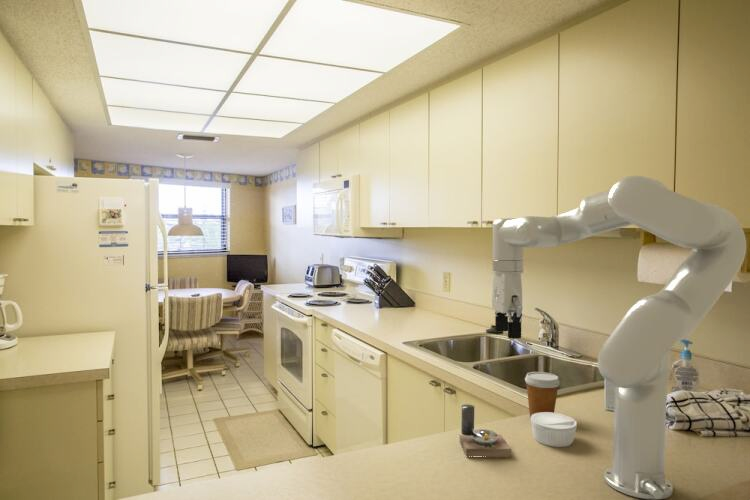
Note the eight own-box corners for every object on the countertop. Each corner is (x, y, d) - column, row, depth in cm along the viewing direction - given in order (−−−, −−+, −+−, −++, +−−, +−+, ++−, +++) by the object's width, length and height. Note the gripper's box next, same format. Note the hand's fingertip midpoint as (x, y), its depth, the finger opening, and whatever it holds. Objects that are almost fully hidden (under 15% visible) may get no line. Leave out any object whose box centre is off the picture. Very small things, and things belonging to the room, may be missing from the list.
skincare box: (626, 413, 146) (627, 363, 146) (603, 410, 149) (604, 360, 148) (625, 404, 154) (626, 356, 153) (604, 401, 156) (605, 354, 156)
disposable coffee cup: (548, 426, 135) (549, 382, 135) (517, 416, 143) (518, 375, 142) (565, 418, 142) (566, 376, 141) (535, 409, 149) (536, 369, 148)
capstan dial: (499, 447, 116) (500, 413, 116) (462, 445, 117) (463, 412, 116) (495, 435, 123) (495, 403, 123) (460, 433, 124) (460, 402, 124)
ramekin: (566, 453, 119) (566, 431, 119) (522, 440, 126) (522, 419, 126) (583, 439, 127) (584, 419, 127) (541, 428, 135) (541, 408, 134)
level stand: (510, 457, 116) (510, 446, 116) (466, 457, 116) (466, 446, 116) (500, 442, 125) (501, 432, 125) (459, 442, 124) (459, 432, 124)
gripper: (483, 265, 135) (483, 329, 135) (504, 269, 118) (504, 341, 118) (510, 265, 135) (510, 328, 136) (535, 269, 118) (535, 341, 118)
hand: (507, 334), depth 127 cm, fingers open, 9 cm apart
